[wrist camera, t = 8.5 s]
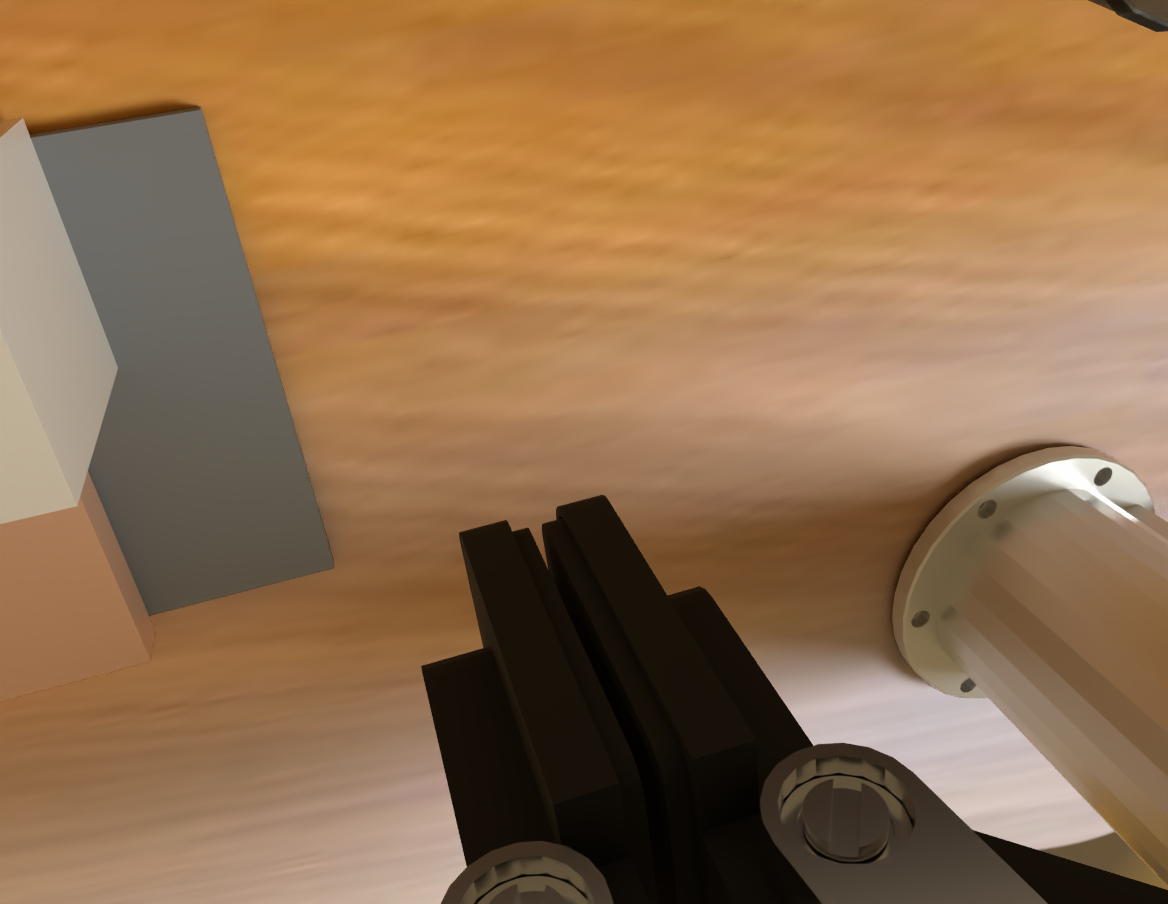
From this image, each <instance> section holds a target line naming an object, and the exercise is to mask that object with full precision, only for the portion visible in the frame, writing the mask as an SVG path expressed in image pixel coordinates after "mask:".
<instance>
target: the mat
mask: <svg viewBox="0 0 1168 904" xmlns="http://www.w3.org/2000/svg"><path fill="white" fill-rule="evenodd" d="M30 138H31V140H32V143H33V146H34V148H35V151H36V153H37V156H38V159H39V161H40V164H41V167H42V169H43V172H44V174H45V177H46V180H47V182H48V185H49V188H50V190H51V193H52V195H53V198H54V201H55V203H56V206H57V209H58V211H59V214H60V217H61V219H62V222H63V224H64V227H65V230H66V232H67V235H68V238H69V240H70V243H71V245H72V248H73V251H74V253H75V256H76V259H77V261H78V264H79V266H80V269H81V272H82V274H83V277H84V280H85V282H86V285H87V287H88V290H89V293H90V295H91V298H92V301H93V303H94V306H95V308H96V311H97V314H98V316H99V319H100V322H101V324H102V327H103V330H104V332H105V335H106V337H107V340H108V343H109V345H110V348H111V351H112V353H113V356H114V358H115V361H116V364H117V366H118V370H117V374H116V377H115V380H114V384H113V387H112V390H111V394H110V397H109V401H108V404H107V407H106V411H105V414H104V417H103V421H102V424H101V428H100V431H99V434H98V438H97V441H96V445H95V448H94V451H93V455H92V458H91V461H90V465H89V468H88V472H89V475H90V477H91V479H92V482H93V484H94V486H95V489H96V491H97V494H98V496H99V498H100V501H101V503H102V505H103V508H104V510H105V513H106V515H107V517H108V520H109V522H110V524H111V527H112V529H113V532H114V534H115V536H116V539H117V541H118V543H119V546H120V548H121V551H122V553H123V555H124V558H125V560H126V563H127V565H128V567H129V570H130V572H131V574H132V577H133V579H134V582H135V584H136V586H137V589H138V591H139V593H140V596H141V598H142V601H143V603H144V605H145V608H146V610H147V612H148V615H149V616H150V615H154V614H158V613H162V612H165V611H169V610H173V609H177V608H181V607H185V606H189V605H193V604H196V603H200V602H204V601H208V600H212V599H216V598H220V597H224V596H228V595H231V594H235V593H239V592H243V591H247V590H251V589H255V588H259V587H262V586H266V585H270V584H274V583H278V582H282V581H286V580H290V579H294V578H297V577H301V576H305V575H309V574H313V573H317V572H321V571H325V570H329V569H332V568H334V562H333V556H332V553H331V550H330V546H329V543H328V539H327V536H326V533H325V529H324V526H323V522H322V519H321V516H320V512H319V509H318V505H317V502H316V498H315V495H314V492H313V488H312V485H311V481H310V478H309V475H308V471H307V468H306V464H305V461H304V458H303V454H302V451H301V447H300V444H299V440H298V437H297V434H296V430H295V427H294V423H293V420H292V417H291V413H290V410H289V406H288V403H287V400H286V396H285V393H284V389H283V386H282V382H281V379H280V376H279V372H278V369H277V365H276V362H275V359H274V355H273V352H272V348H271V345H270V342H269V338H268V335H267V331H266V328H265V324H264V321H263V318H262V314H261V311H260V307H259V304H258V301H257V297H256V294H255V290H254V287H253V284H252V280H251V277H250V273H249V270H248V267H247V263H246V260H245V256H244V253H243V249H242V246H241V243H240V239H239V236H238V232H237V229H236V226H235V222H234V219H233V215H232V212H231V209H230V205H229V202H228V198H227V195H226V191H225V188H224V185H223V181H222V178H221V174H220V171H219V168H218V164H217V161H216V157H215V154H214V151H213V147H212V144H211V140H210V137H209V133H208V130H207V127H206V123H205V120H204V116H203V113H202V110H201V106H200V107H194V108H188V109H182V110H176V111H170V112H164V113H158V114H152V115H146V116H140V117H133V118H127V119H121V120H115V121H109V122H103V123H97V124H91V125H85V126H79V127H73V128H67V129H60V130H54V131H48V132H42V133H36V134H30Z"/></svg>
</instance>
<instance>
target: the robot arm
mask: <svg viewBox="0 0 1168 904" xmlns="http://www.w3.org/2000/svg"><path fill="white" fill-rule="evenodd" d="M556 518H557V520H555V521H551V522H548V523H544V524H542V534H543V541H544V547H545V553H546V558H547V564H548V569H547V566H546V564H545V562H544V560H543V558H542V556H541V553H540V551H539V549H538V547H537V545H536V542H535V540H534V538H533V536H532V534H531V532H530V530H529V528H525V529H521V530H517V531H514V532H512V530H511V528H510V526H509V524H508V522H507V521H506V520H505V521H501V522H497V523H493V524H489V525H486V526H482V527H478V528H474V529H470V530H467V531H463V532H459V537H460V543H461V548H462V552H463V557H464V561H465V566H466V570H467V575H468V579H469V584H470V589H471V593H472V598H473V602H474V607H475V611H476V616H477V620H478V625H479V629H480V634H481V638H482V643H483V649H479V650H476V651H472V652H469V653H465V654H462V655H458V656H455V657H451V658H448V659H444V660H441V661H437V662H434V663H430V664H427V665H423V666H421V668H422V673H423V677H424V682H425V686H426V690H427V695H428V699H429V704H430V708H431V712H432V717H433V721H434V725H435V730H436V734H437V738H438V743H439V747H440V751H441V756H442V760H443V765H444V769H445V773H446V778H447V782H448V786H449V791H450V795H451V799H452V804H453V808H454V813H455V817H456V821H457V826H458V830H459V834H460V839H461V843H462V847H463V852H464V856H465V861H466V865H467V868H466V869H465V870H464V871H463V872H462V873H461V874H460V875H459V876H458V877H457V878H456V880H455V881H454V882H453V883H452V884H451V885H450V886H449V888H448V890H447V892H446V894H445V896H444V898H443V900H442V902H441V904H1168V890H1166V889H1162V888H1159V887H1156V886H1153V885H1149V884H1146V883H1143V882H1140V881H1136V880H1133V879H1130V878H1126V877H1123V876H1120V875H1117V874H1114V873H1110V872H1107V871H1103V870H1101V869H1097V868H1094V867H1091V866H1087V865H1084V864H1081V863H1078V862H1075V861H1071V860H1068V859H1065V858H1062V857H1058V856H1055V855H1052V854H1049V853H1045V852H1042V851H1039V850H1036V849H1032V848H1029V847H1026V846H1023V845H1019V844H1016V843H1013V842H1010V841H1006V840H1003V839H1000V838H997V837H993V836H990V835H987V834H984V833H980V832H977V831H974V830H972V829H971V828H970V827H969V826H968V825H967V824H966V823H965V822H964V821H963V820H961V819H960V818H959V817H958V816H957V815H956V814H955V813H954V812H953V811H952V810H951V809H950V808H949V807H948V806H947V805H946V804H945V803H944V802H943V801H942V800H941V799H940V798H939V797H938V796H937V795H936V794H935V793H934V792H933V791H932V790H931V789H930V788H929V787H928V786H927V785H926V784H924V783H923V782H922V781H921V780H920V779H919V778H918V777H917V776H916V775H915V774H914V773H913V772H912V771H910V770H909V769H908V768H906V767H905V766H904V765H902V764H901V763H900V762H898V761H897V760H896V759H894V758H893V757H891V756H888V755H886V754H884V753H881V752H879V751H876V750H874V749H872V748H869V747H864V746H858V745H853V744H847V743H833V744H818V745H814V746H813V744H812V743H811V741H810V740H809V739H808V737H807V736H806V734H805V733H804V731H803V730H802V728H801V727H800V725H799V724H798V722H797V721H796V719H795V718H794V717H793V715H792V714H791V712H790V711H789V709H788V708H787V706H786V705H785V703H784V702H783V700H782V699H781V697H780V696H779V695H778V693H777V692H776V690H775V689H774V687H773V686H772V684H771V683H770V681H769V680H768V678H767V677H766V676H765V674H764V673H763V671H762V670H761V668H760V667H759V665H758V664H757V662H756V661H755V659H754V658H753V656H752V655H751V654H750V652H749V651H748V649H747V648H746V646H745V645H744V643H743V642H742V640H741V639H740V637H739V636H738V634H737V633H736V632H735V630H734V629H733V627H732V626H731V624H730V623H729V621H728V620H727V618H726V617H725V615H724V614H723V613H722V611H721V610H720V608H719V607H718V605H717V604H716V602H715V601H714V599H713V598H712V597H711V595H710V594H709V593H708V592H707V591H706V590H705V589H704V588H702V587H696V588H692V589H689V590H685V591H682V592H678V593H675V594H671V595H668V596H667V594H666V593H665V591H664V589H663V588H662V586H661V585H660V583H659V581H658V580H657V578H656V576H655V575H654V573H653V572H652V570H651V568H650V567H649V565H648V564H647V562H646V560H645V559H644V557H643V555H642V554H641V552H640V551H639V549H638V547H637V546H636V544H635V543H634V541H633V539H632V538H631V536H630V534H629V533H628V531H627V530H626V528H625V526H624V525H623V523H622V521H621V520H620V518H619V517H618V515H617V513H616V512H615V510H614V509H613V507H612V505H611V504H610V502H609V500H608V499H607V498H606V497H605V496H604V495H600V496H596V497H592V498H589V499H585V500H581V501H577V502H573V503H570V504H566V505H562V506H558V507H557V509H556ZM548 570H549V571H548ZM892 621H893V629H894V637H895V640H896V642H897V645H898V647H899V650H900V653H901V655H902V656H903V657H904V659H905V660H906V661H907V662H908V664H909V665H910V666H911V668H912V669H913V670H914V671H915V672H916V673H917V674H918V675H919V676H920V677H921V678H922V679H923V680H924V681H925V682H926V683H927V684H928V685H929V686H931V687H933V688H935V689H937V690H939V691H941V692H943V693H945V694H948V695H952V696H956V697H960V698H989V699H990V700H991V701H992V702H993V703H994V704H995V705H996V706H997V708H998V709H999V710H1000V711H1001V712H1002V713H1003V714H1004V715H1005V716H1006V717H1007V718H1008V719H1009V720H1010V721H1011V722H1012V723H1013V724H1014V725H1015V726H1016V728H1017V729H1018V730H1019V731H1020V732H1021V733H1022V734H1023V735H1024V736H1025V737H1026V738H1027V739H1028V740H1029V741H1030V742H1031V743H1032V744H1033V745H1034V746H1035V748H1036V749H1037V750H1038V751H1039V752H1040V753H1041V754H1042V755H1043V756H1044V757H1045V758H1046V759H1047V760H1048V761H1049V762H1050V763H1051V764H1052V765H1053V767H1054V768H1055V769H1056V770H1057V771H1058V772H1059V773H1060V774H1061V775H1062V776H1063V777H1064V778H1065V779H1066V780H1067V781H1068V782H1069V783H1070V784H1071V785H1072V787H1073V788H1074V789H1075V790H1076V791H1077V792H1078V793H1079V794H1080V795H1081V796H1082V797H1083V798H1084V799H1085V800H1086V801H1087V802H1088V803H1089V804H1090V805H1091V807H1092V808H1093V809H1094V810H1095V811H1096V812H1097V813H1098V814H1099V815H1100V816H1101V817H1102V818H1103V819H1104V820H1105V821H1106V822H1107V823H1108V824H1109V826H1110V827H1111V828H1112V829H1113V830H1114V831H1115V832H1116V833H1117V834H1118V835H1119V836H1120V837H1121V838H1122V839H1123V840H1124V841H1125V842H1126V843H1127V844H1128V845H1129V847H1130V848H1131V849H1132V850H1133V851H1134V852H1135V853H1136V854H1137V855H1138V856H1139V857H1140V858H1141V859H1142V860H1143V861H1144V862H1145V863H1146V865H1148V867H1149V868H1150V869H1151V870H1152V871H1153V872H1154V873H1155V874H1156V875H1157V876H1158V877H1159V878H1160V879H1161V880H1162V881H1163V882H1164V883H1165V884H1166V886H1167V887H1168V522H1166V521H1165V520H1163V519H1162V518H1160V517H1159V516H1157V515H1155V510H1154V504H1153V500H1152V498H1151V496H1150V493H1149V491H1148V489H1147V487H1146V485H1145V483H1144V482H1143V481H1142V480H1141V479H1140V478H1139V477H1138V475H1137V474H1136V473H1135V472H1134V471H1133V470H1132V469H1130V468H1128V467H1127V466H1125V465H1124V464H1122V463H1121V462H1119V461H1118V460H1116V459H1115V458H1113V457H1112V456H1109V455H1107V454H1104V453H1102V452H1100V451H1097V450H1095V449H1091V448H1083V447H1076V446H1065V447H1053V448H1046V449H1042V450H1038V451H1035V452H1031V453H1027V454H1024V455H1021V456H1019V457H1017V458H1015V459H1012V460H1010V461H1008V462H1006V463H1003V464H1001V465H999V466H997V467H995V468H994V469H992V470H991V471H989V472H987V473H986V474H984V475H983V476H981V477H980V478H978V479H977V480H975V481H973V482H972V483H971V484H969V485H968V486H967V487H966V488H965V489H964V490H962V491H961V492H960V493H959V494H958V495H956V496H955V497H954V498H953V499H952V500H950V501H949V502H948V504H947V505H946V506H945V507H944V508H943V509H942V510H941V511H940V512H939V513H938V515H937V516H936V517H935V518H934V519H933V520H932V521H931V522H930V523H929V525H928V526H927V528H926V529H925V531H924V532H923V534H922V535H921V536H920V538H919V539H918V541H917V542H916V544H915V545H914V547H913V549H912V551H911V553H910V555H909V557H908V559H907V561H906V563H905V565H904V567H903V569H902V571H901V575H900V578H899V581H898V585H897V588H896V591H895V594H894V603H893V613H892Z"/></svg>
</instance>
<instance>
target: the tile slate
mask: <svg viewBox="0 0 1168 904" xmlns="http://www.w3.org/2000/svg"><path fill="white" fill-rule="evenodd" d="M117 370H118V366H117V364H116V361H115V358H114V356H113V353H112V351H111V348H110V345H109V343H108V340H107V337H106V335H105V332H104V330H103V327H102V324H101V322H100V319H99V316H98V314H97V311H96V308H95V306H94V303H93V301H92V298H91V295H90V293H89V290H88V287H87V285H86V282H85V280H84V277H83V274H82V272H81V269H80V266H79V264H78V261H77V259H76V256H75V253H74V251H73V248H72V245H71V243H70V240H69V238H68V235H67V232H66V230H65V227H64V224H63V222H62V219H61V217H60V214H59V211H58V209H57V206H56V203H55V201H54V198H53V195H52V193H51V190H50V188H49V185H48V182H47V180H46V177H45V174H44V172H43V169H42V167H41V164H40V161H39V159H38V156H37V153H36V151H35V148H34V146H33V143H32V140H31V138H30V135H29V132H28V130H27V127H26V125H25V122H24V119H23V118H19V119H13V120H6V121H0V524H3V523H7V522H12V521H16V520H20V519H25V518H29V517H33V516H37V515H42V514H46V513H50V512H54V511H59V510H63V509H67V508H72V507H76V506H77V505H78V502H79V499H80V495H81V492H82V488H83V485H84V482H85V478H86V475H87V472H88V468H89V465H90V461H91V458H92V455H93V451H94V448H95V445H96V441H97V438H98V434H99V431H100V428H101V424H102V421H103V417H104V414H105V411H106V407H107V404H108V401H109V397H110V394H111V390H112V387H113V384H114V380H115V377H116V374H117Z"/></svg>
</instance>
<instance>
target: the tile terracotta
mask: <svg viewBox="0 0 1168 904" xmlns="http://www.w3.org/2000/svg"><path fill="white" fill-rule="evenodd" d="M154 636H155V629H154V627H153V624H152V622H151V620H150V617H149V615H148V612H147V610H146V608H145V605H144V603H143V601H142V598H141V596H140V593H139V591H138V589H137V586H136V584H135V582H134V579H133V577H132V574H131V572H130V570H129V567H128V565H127V563H126V560H125V558H124V555H123V553H122V551H121V548H120V546H119V543H118V541H117V539H116V536H115V534H114V532H113V529H112V527H111V524H110V522H109V520H108V517H107V515H106V513H105V510H104V508H103V505H102V503H101V501H100V498H99V496H98V494H97V491H96V489H95V486H94V484H93V482H92V479H91V477H90V475H89V472H87V475H86V478H85V482H84V485H83V488H82V492H81V495H80V499H79V502H78V505H77V506H76V507H72V508H67V509H63V510H59V511H54V512H50V513H46V514H42V515H37V516H33V517H29V518H25V519H20V520H16V521H12V522H7V523H3V524H0V702H1V701H5V700H9V699H12V698H16V697H20V696H24V695H27V694H31V693H35V692H39V691H42V690H46V689H50V688H54V687H57V686H61V685H65V684H69V683H72V682H76V681H80V680H84V679H87V678H91V677H95V676H99V675H103V674H106V673H110V672H114V671H118V670H121V669H125V668H129V667H133V666H136V665H140V664H144V663H148V662H151V659H152V651H153V644H154Z"/></svg>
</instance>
